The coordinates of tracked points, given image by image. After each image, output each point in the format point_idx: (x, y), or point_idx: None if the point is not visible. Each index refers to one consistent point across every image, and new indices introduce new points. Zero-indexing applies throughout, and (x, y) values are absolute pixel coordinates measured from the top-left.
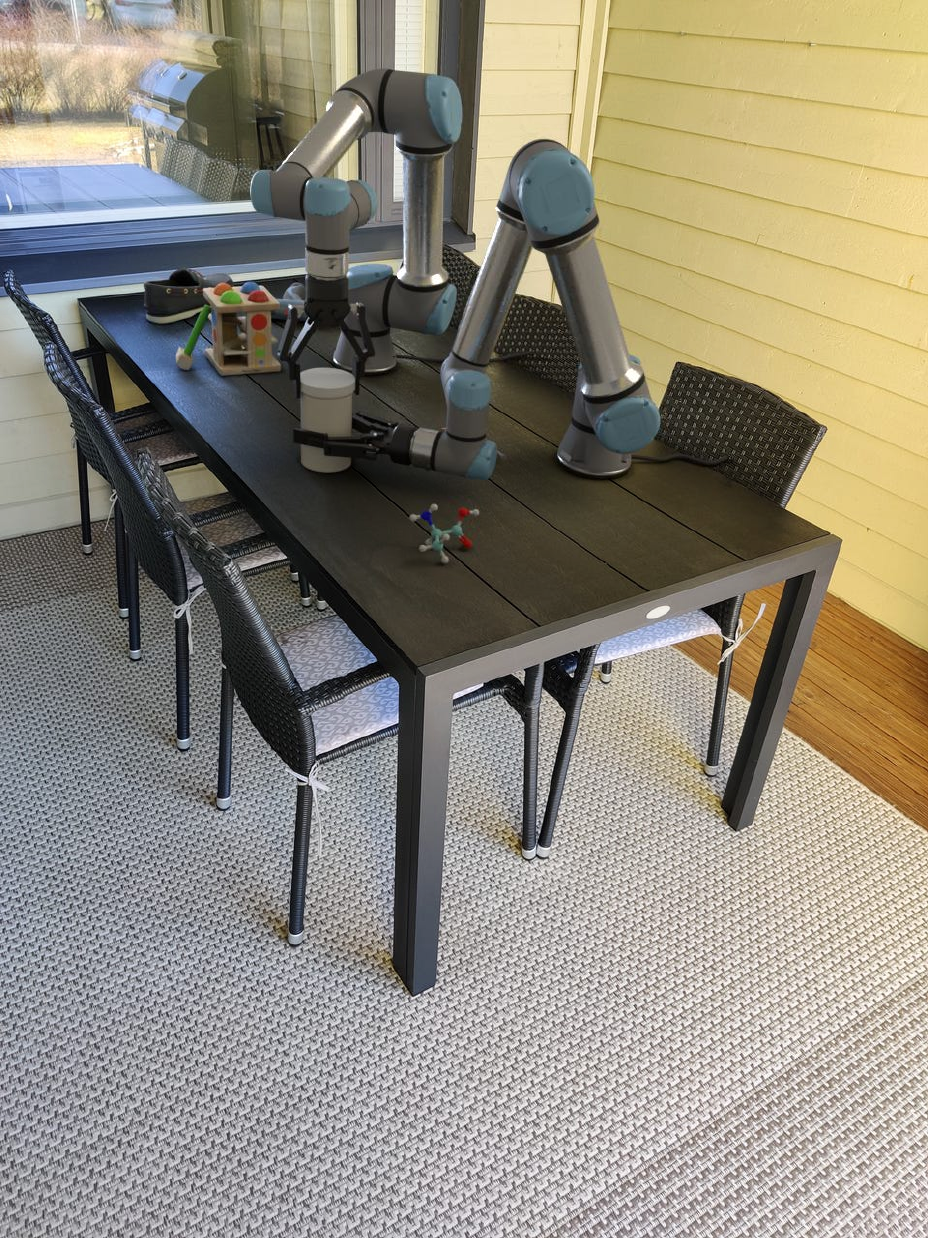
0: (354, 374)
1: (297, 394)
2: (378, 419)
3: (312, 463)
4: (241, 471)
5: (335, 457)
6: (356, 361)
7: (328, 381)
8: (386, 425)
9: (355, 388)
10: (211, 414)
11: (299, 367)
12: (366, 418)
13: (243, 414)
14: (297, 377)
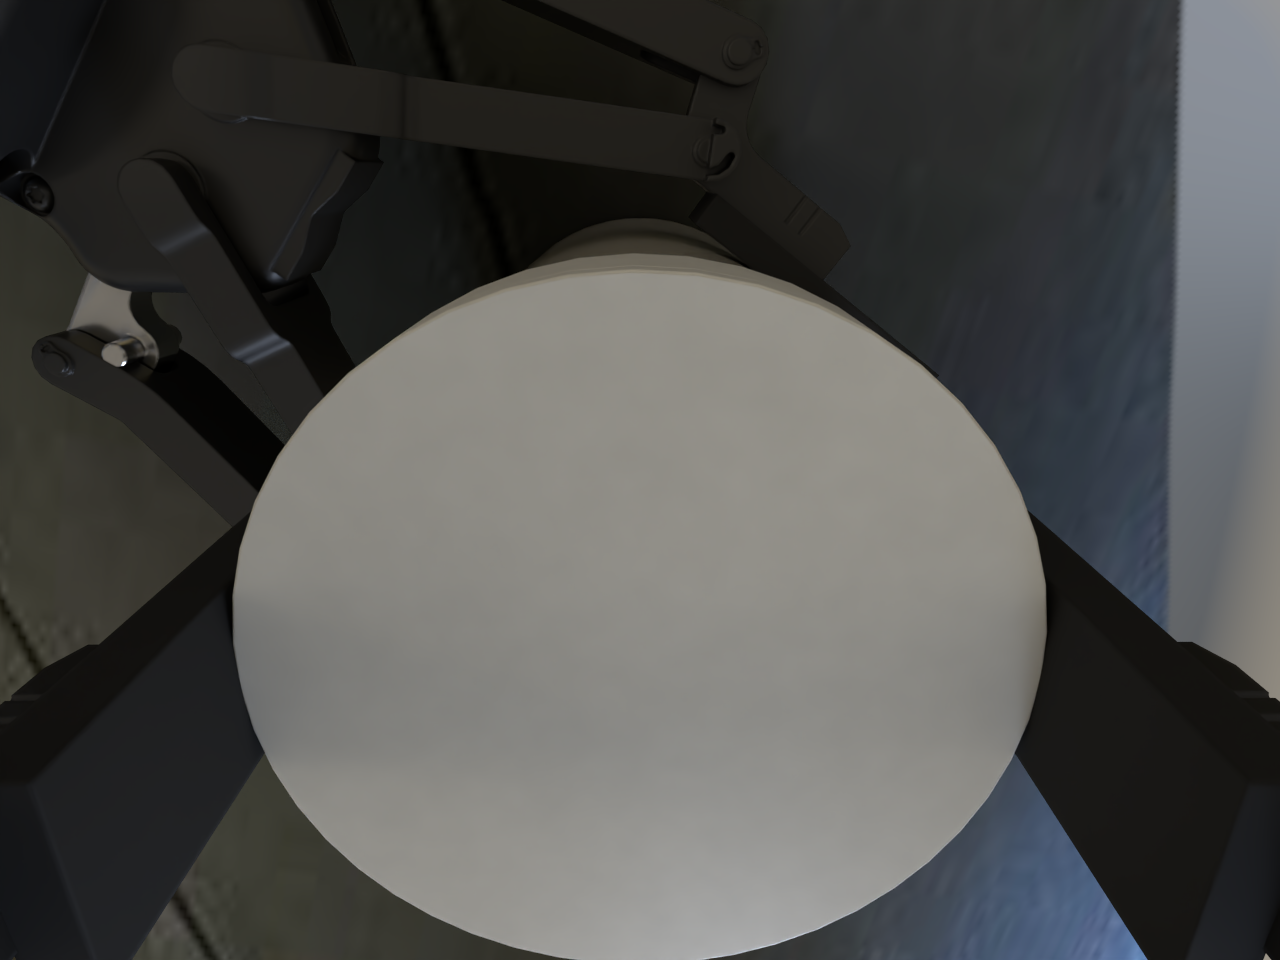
0: (216, 681)
1: None
2: (204, 454)
3: None
4: (1147, 336)
5: (618, 226)
6: (25, 795)
7: (649, 554)
8: (154, 373)
9: None
10: (1031, 939)
11: (1225, 735)
12: None
13: (893, 922)
14: (1141, 630)
